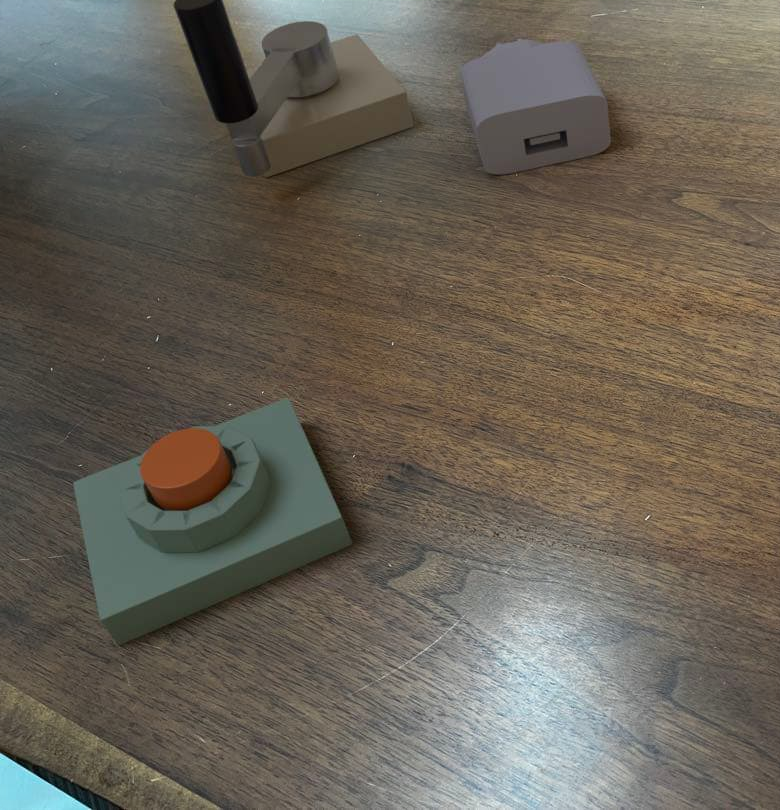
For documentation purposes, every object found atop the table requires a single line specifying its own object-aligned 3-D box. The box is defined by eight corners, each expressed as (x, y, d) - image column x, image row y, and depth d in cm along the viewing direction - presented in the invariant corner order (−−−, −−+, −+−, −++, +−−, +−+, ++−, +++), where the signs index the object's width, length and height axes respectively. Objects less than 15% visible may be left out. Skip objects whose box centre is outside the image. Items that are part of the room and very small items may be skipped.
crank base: (265, 178, 81) (253, 143, 79) (229, 112, 89) (217, 78, 87) (414, 126, 84) (406, 91, 82) (365, 67, 92) (357, 33, 90)
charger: (569, 59, 88) (612, 152, 78) (458, 82, 88) (485, 178, 77) (562, 3, 85) (606, 91, 74) (447, 26, 85) (474, 119, 74)
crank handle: (292, 75, 87) (243, -84, 78) (350, 74, 86) (307, -88, 77) (216, 180, 77) (150, 11, 68) (281, 181, 76) (222, 8, 67)
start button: (160, 523, 52) (147, 500, 51) (146, 470, 55) (133, 447, 54) (240, 491, 53) (228, 467, 52) (222, 440, 56) (211, 416, 55)
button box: (118, 646, 52) (83, 597, 49) (89, 508, 59) (57, 458, 56) (353, 544, 55) (332, 493, 52) (299, 423, 61) (279, 372, 59)
